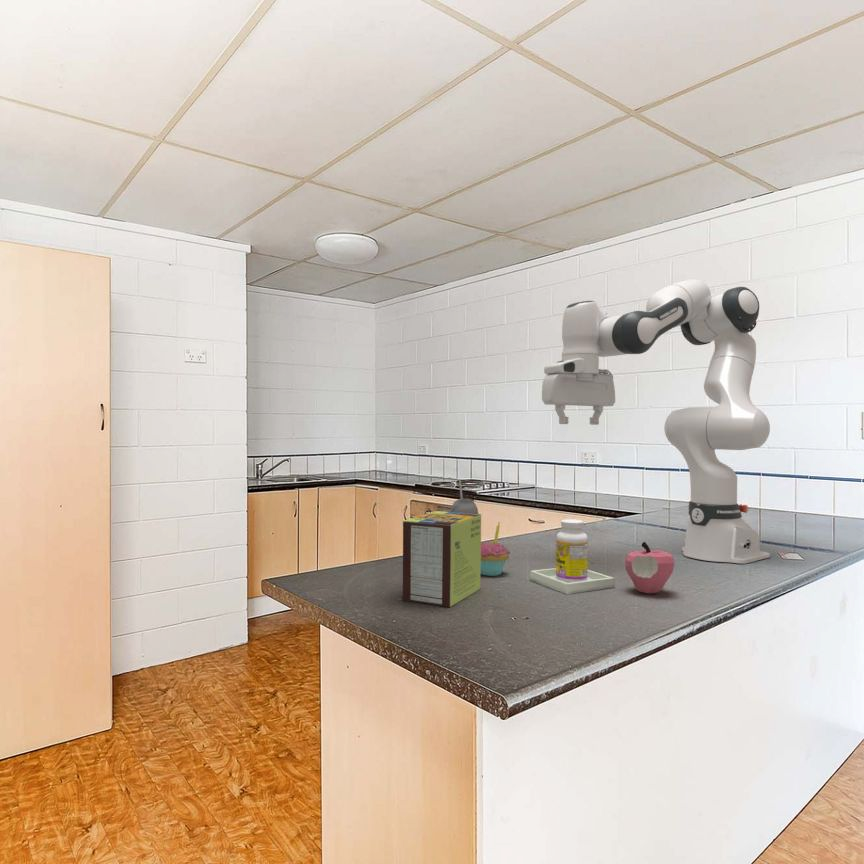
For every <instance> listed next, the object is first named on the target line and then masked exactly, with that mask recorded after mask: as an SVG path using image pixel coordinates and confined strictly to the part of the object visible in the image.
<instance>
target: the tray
mask: <svg viewBox="0 0 864 864" xmlns="http://www.w3.org/2000/svg"><path fill="white" fill-rule="evenodd" d="M615 579H616V578H615V577H613V576H610V575H606V574H603V573H600V572H596V571H594V570H589V569H588V573H587V581H579V582H571V583H566V582H563V581H560V580H558V579H556V567H554V568H553V567H552V568H542V569H534V570H529V581H530V582H534V583H535V584H539V585H541V586H543V587H547V588H550V589H553V590H554V591H557V592H559V593H562V594H565V595H572V594H578V593H579V594H580V593H585V592H593V591H600V590H606V589H607V590H608V589H614V588H615V587H616V586H615V583H616V581H615Z"/></svg>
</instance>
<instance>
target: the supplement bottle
mask: <svg viewBox="0 0 864 864" xmlns="http://www.w3.org/2000/svg"><path fill="white" fill-rule="evenodd" d="M560 526H561V531H560V532H559V531H558V533H557V535H556V538H555V539H556V542H555V543H556V544H555V545H556V547H555V568H556V579H558V580H560V581H563V582H566V583H571V582H579V581H587V573H588V570H589V569H588V568H589V567H588V565H589V564H588V563H589V560H588V559H589V558H588V557H589V556H588V554H589V551H588V550H589V549H588V548H589V537H588V535H587V534H586V533H585V532H583V529H584V526H585V525H584V521H583V520H581V519H574V518H571V519H569V518H567V519H562V520H560Z"/></svg>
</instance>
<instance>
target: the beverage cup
mask: <svg viewBox="0 0 864 864" xmlns="http://www.w3.org/2000/svg"><path fill="white" fill-rule="evenodd" d="M458 484H459V494H460V497H459V498H458V499H457V500H455V501H454V502H453V503H452V505H451V508H450V510H449V512H455V513H469V514H479V510H478V509H479V508H478V507H477V504H476V503H475V502H474V500H472V499H470V498H467V497H463V489H462V480H461V479H459V480H458Z"/></svg>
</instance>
